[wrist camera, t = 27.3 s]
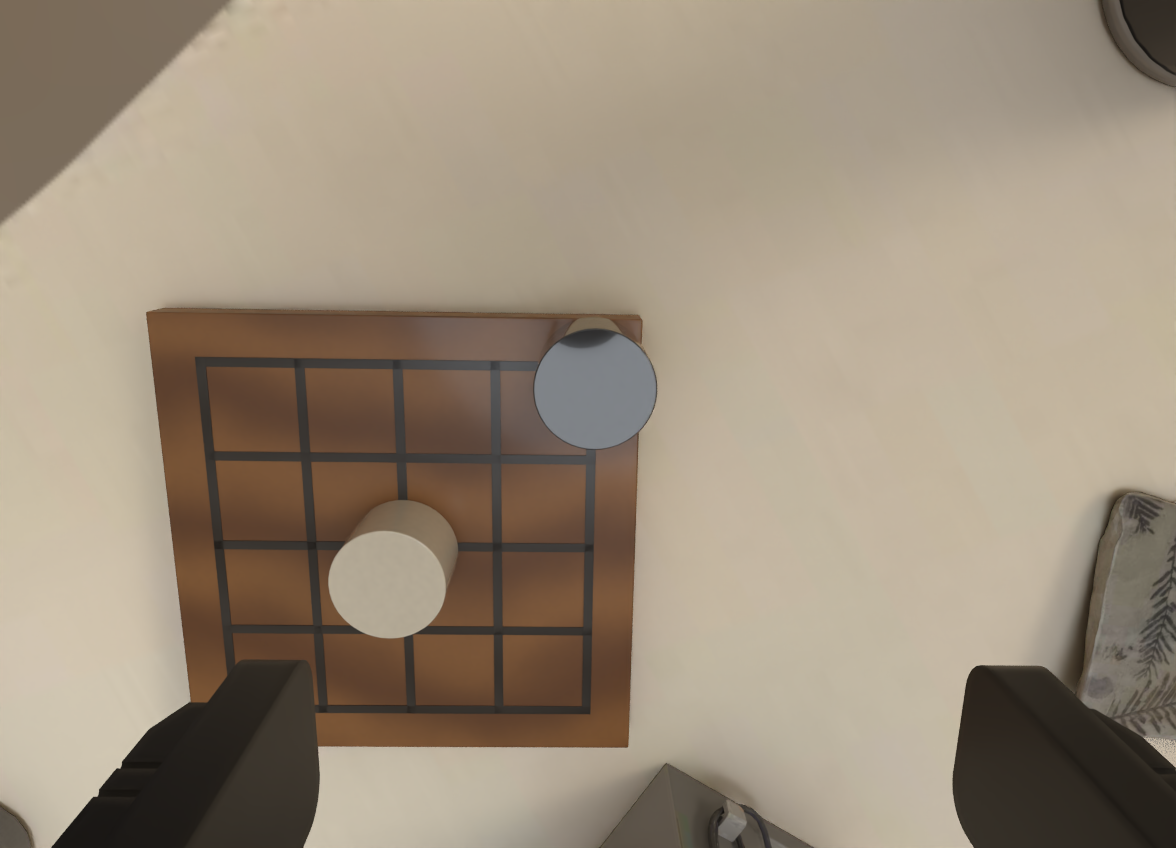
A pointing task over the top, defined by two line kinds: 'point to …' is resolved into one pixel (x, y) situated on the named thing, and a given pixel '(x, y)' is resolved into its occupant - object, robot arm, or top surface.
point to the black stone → (594, 384)
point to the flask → (12, 832)
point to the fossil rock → (1134, 619)
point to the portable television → (693, 819)
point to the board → (387, 473)
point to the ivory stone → (394, 569)
